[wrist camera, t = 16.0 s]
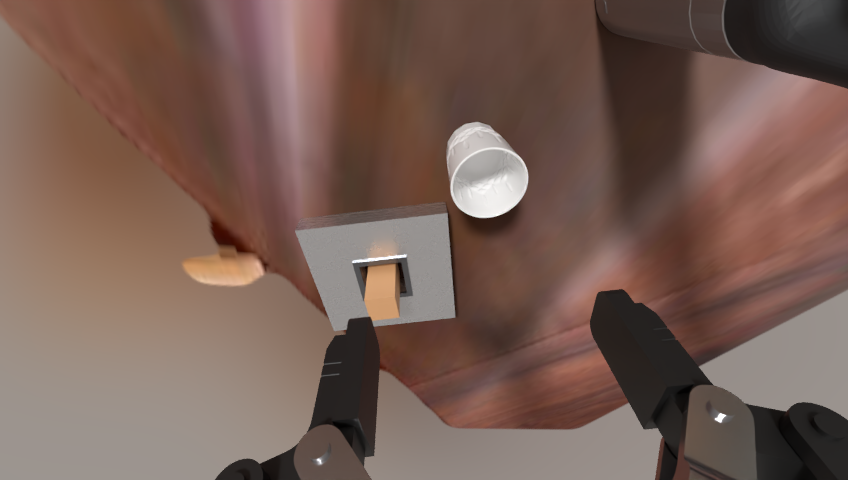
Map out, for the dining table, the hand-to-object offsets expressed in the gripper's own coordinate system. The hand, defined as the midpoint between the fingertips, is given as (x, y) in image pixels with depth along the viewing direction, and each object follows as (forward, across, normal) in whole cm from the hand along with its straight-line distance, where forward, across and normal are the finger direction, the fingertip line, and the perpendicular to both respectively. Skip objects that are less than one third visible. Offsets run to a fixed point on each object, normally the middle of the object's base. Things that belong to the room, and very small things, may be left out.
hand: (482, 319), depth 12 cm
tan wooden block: (+33, +9, +24) cm, 42 cm away
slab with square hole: (+33, +9, +24) cm, 42 cm away
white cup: (+33, -5, +7) cm, 34 cm away
